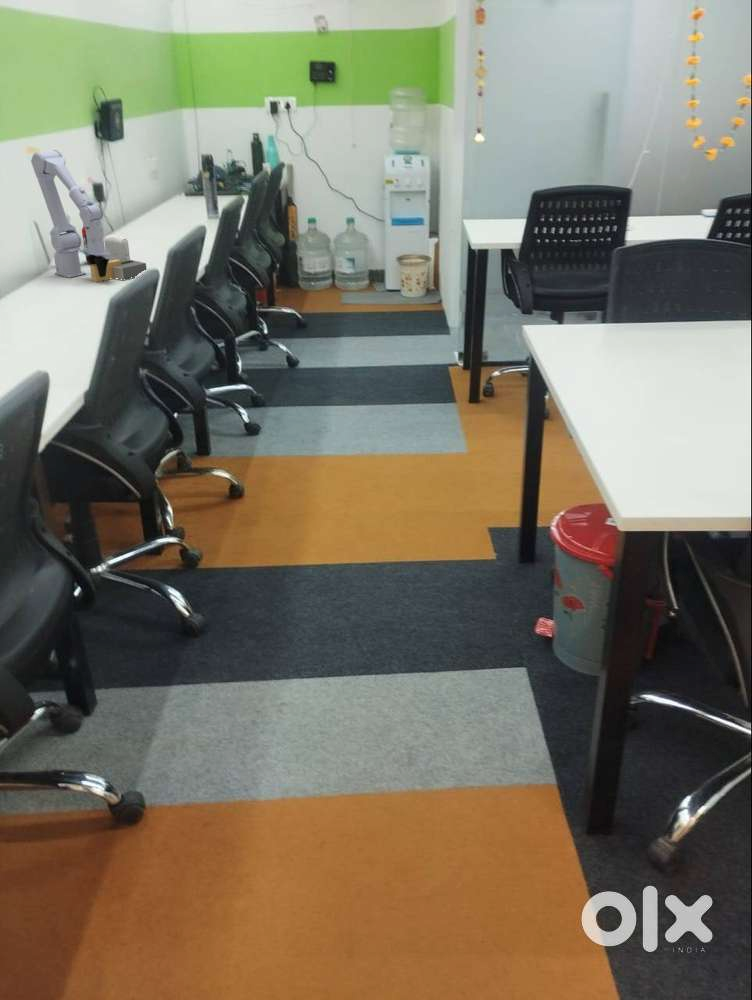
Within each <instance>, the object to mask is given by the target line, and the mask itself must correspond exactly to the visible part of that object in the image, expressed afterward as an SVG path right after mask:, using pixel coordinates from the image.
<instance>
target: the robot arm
mask: <svg viewBox="0 0 752 1000" xmlns="http://www.w3.org/2000/svg"><path fill="white" fill-rule="evenodd" d="M30 163H31V165H32V168H33V171H34V173H35V177H36V179H37V181H38V185H39V187H40V189H41V190H40V191H41V193H42V196H43V198H44V201H45V205H46V208H47V210H48V212H49V216H50V218H51V221H52V224H53V227H52V229H51V230H50V232H49V236H50V238H51V239H50V240H51V242H50V243H51V245H52V247H53V249H54V251H55V252H54V254H53V259H54V264H55V270H56V272H54V275H58V276H62V277H65V278H73V277H77V276H83V275H86V274H87V272H85V271H82V269H81V262H80V261H81V260H80V256H79V254H80V253H79V251H80V247H81V246H82V237H81V236H80V234H79V232H78V231H77V229H76V227H75V226H74V225H72V224H71V223H69V221H68V218H67V215H66V213H65V210H64V206H63V204H62V201H61V197H60V195H59V191H58V188H57V186H56V183H55V178H56V177H57V178H58V179H59V180H60V182H61V183H62V184H63V185H64V186H65V187H66V188H67V190H68V191H69V193H68V196H69V198H70V199H71V201H72V202H73V203H74V205H75V206H76V208H77V210H79V213H78V214H79V218H80V219H81V221H82V226H83V225H84V227H85V230H86V237H87V244H88V248H84V247H83V248H82V252H83V255H85V254H89V257H86V256H85V260H86V259H87V260H88V262H89V263H90V264H89V263H88V264H89V266H90V265H92V264H96V265H97V268H98V272H99V275H100V277H104V276H106V268H107V264H108V261H109V259H112V257H111V253H109V252H107V249H104V246H105V241H104V242H103V239H104V234H103V235H102V232H103V228H102V223H101V220H102V219H103V216H104V212H103V208H102V207H101V205H100V204H99V203H98V202H97V203H96V202H95V201H93V200H92V199H91V197H90V196H89V195H88V193H87V192H86V189H85V188H83V186H79V185H77V183H76V181H75V180H74V178H73V176H72V175H71V173H70V171H69V170H68V167H67V166H66V159H65V157H63V154H62V153H61V152H60V151H59V150H51V151H48V150H47V151H41V152H40V151H39V152H38V151H37V152H34V153H33V154H32V156H31V160H30Z"/></svg>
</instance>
